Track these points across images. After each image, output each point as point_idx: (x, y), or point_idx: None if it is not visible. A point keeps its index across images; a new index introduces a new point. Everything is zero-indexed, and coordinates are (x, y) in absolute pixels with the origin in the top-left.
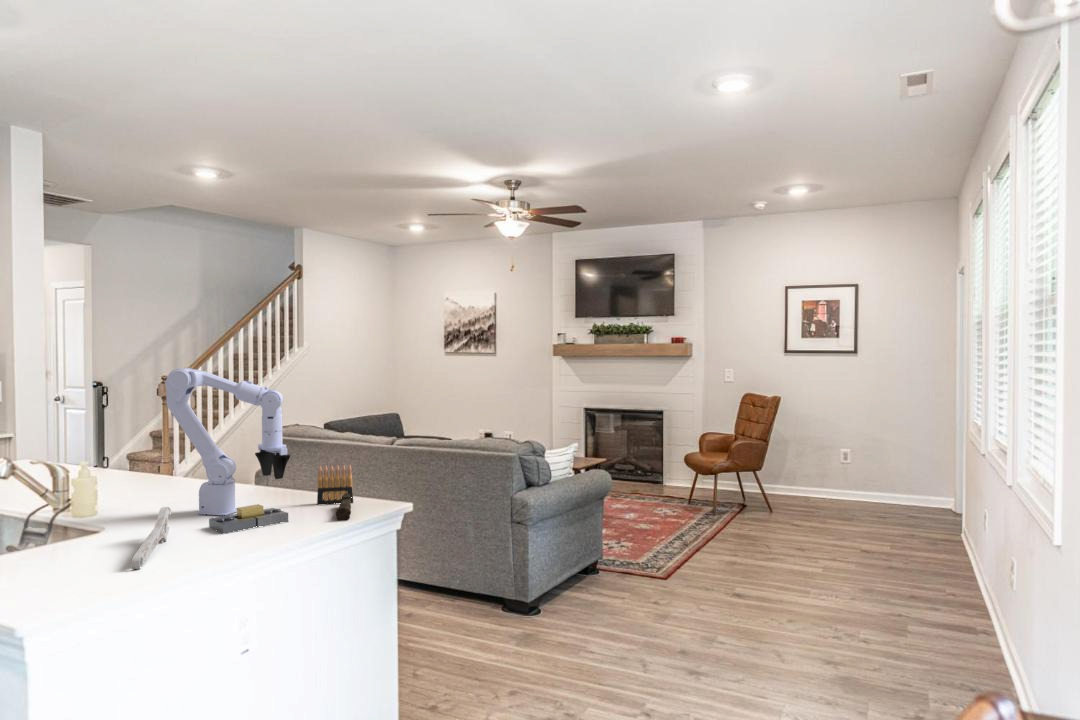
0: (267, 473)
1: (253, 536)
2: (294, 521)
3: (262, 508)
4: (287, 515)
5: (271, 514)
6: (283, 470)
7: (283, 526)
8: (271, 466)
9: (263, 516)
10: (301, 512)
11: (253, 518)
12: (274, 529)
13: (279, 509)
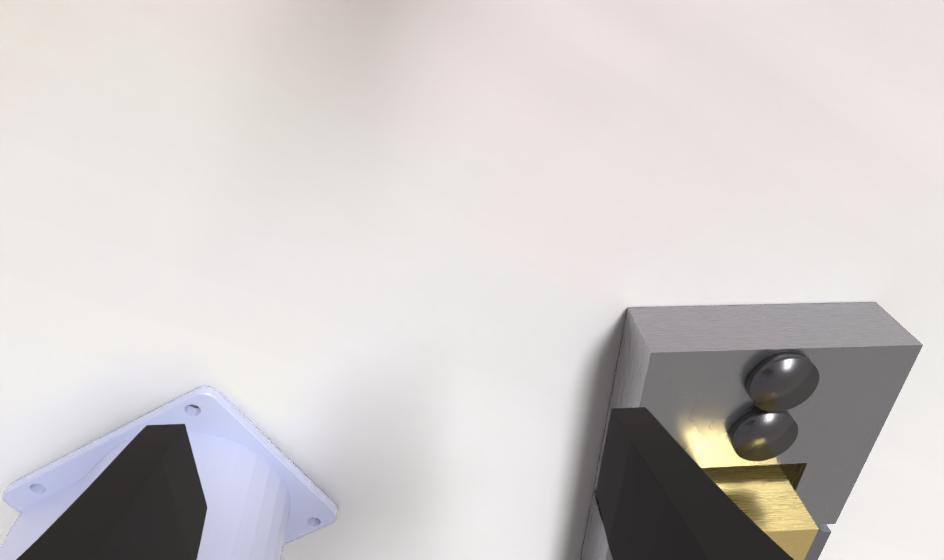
0: (183, 493)
1: (931, 538)
2: (909, 266)
3: (807, 516)
4: (905, 337)
5: (837, 440)
6: (724, 514)
7: (936, 372)
8: (105, 543)
9: (831, 489)
10: (708, 61)
11: (815, 539)
12: (934, 431)
13: (806, 370)
